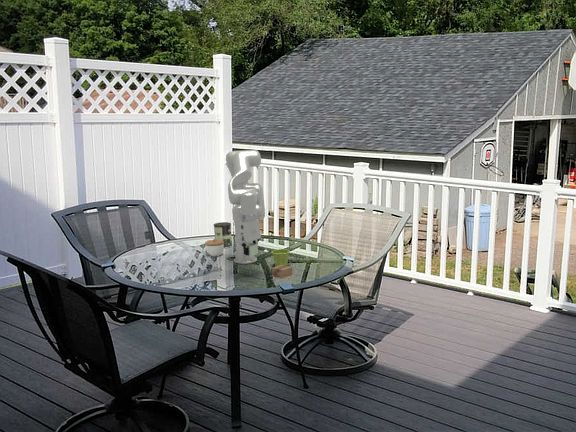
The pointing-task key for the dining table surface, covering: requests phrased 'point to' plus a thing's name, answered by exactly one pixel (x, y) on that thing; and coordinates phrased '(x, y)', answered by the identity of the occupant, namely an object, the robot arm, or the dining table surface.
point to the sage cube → (252, 249)
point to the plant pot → (280, 257)
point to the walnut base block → (282, 271)
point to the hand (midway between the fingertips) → (250, 253)
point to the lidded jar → (214, 247)
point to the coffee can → (223, 233)
